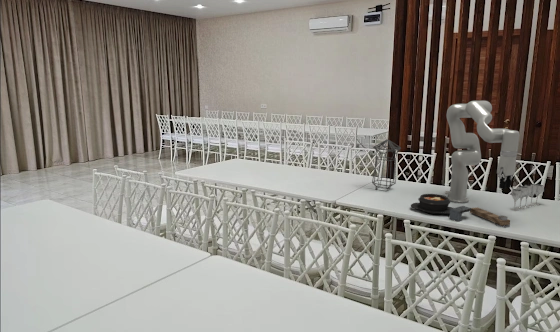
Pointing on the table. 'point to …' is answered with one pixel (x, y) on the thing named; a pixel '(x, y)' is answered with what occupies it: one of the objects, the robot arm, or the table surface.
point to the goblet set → (526, 194)
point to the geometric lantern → (385, 160)
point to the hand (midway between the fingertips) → (504, 187)
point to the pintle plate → (502, 225)
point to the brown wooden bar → (491, 216)
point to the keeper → (458, 212)
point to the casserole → (433, 204)
